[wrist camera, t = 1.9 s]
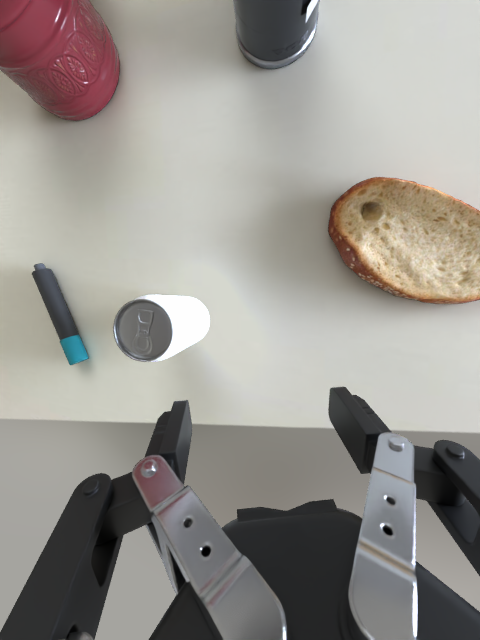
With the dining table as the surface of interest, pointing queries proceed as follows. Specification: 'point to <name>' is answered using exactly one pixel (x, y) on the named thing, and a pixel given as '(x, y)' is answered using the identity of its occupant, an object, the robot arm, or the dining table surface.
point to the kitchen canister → (59, 55)
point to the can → (159, 326)
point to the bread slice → (409, 240)
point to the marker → (59, 314)
